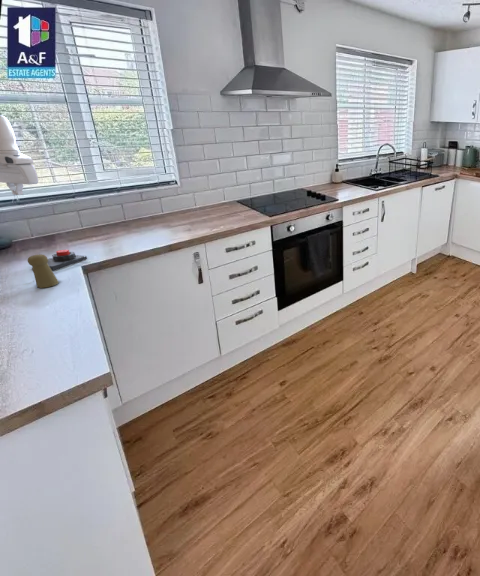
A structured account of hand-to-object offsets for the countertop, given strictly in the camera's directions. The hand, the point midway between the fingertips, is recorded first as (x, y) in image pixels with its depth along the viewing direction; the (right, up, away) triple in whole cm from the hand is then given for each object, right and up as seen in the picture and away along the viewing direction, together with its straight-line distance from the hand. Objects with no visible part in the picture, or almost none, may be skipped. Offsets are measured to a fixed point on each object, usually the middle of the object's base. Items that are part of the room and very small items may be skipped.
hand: (18, 194), depth 146 cm
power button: (+16, -24, +3) cm, 29 cm away
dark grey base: (+15, -29, +3) cm, 32 cm away
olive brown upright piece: (+25, -36, -14) cm, 46 cm away
